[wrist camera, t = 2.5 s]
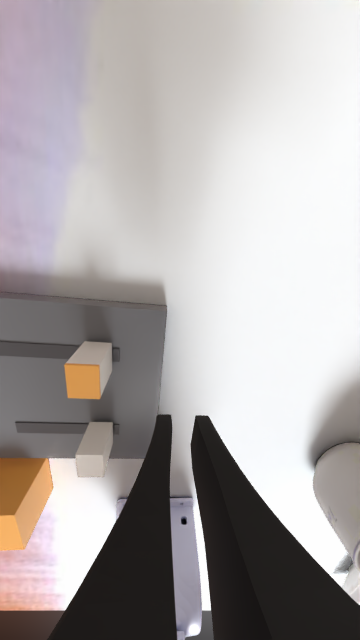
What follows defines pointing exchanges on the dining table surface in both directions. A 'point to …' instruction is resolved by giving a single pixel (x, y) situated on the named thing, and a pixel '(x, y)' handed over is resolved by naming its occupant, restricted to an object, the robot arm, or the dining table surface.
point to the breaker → (94, 449)
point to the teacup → (341, 494)
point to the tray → (352, 584)
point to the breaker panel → (50, 382)
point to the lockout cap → (22, 498)
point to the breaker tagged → (89, 370)
